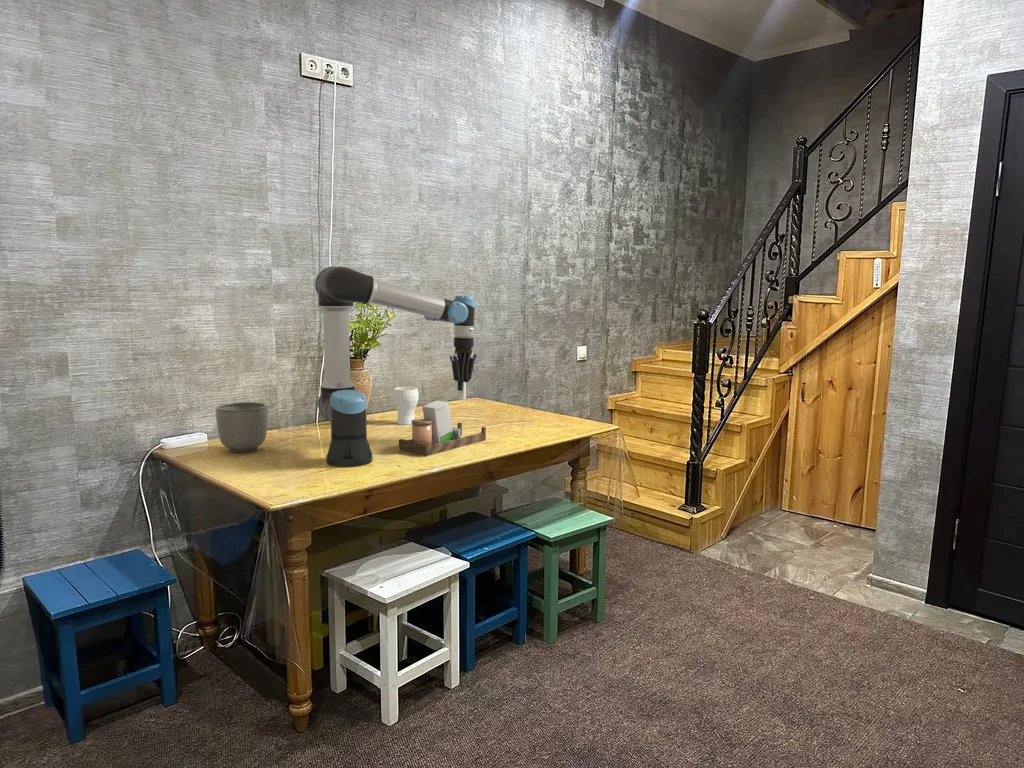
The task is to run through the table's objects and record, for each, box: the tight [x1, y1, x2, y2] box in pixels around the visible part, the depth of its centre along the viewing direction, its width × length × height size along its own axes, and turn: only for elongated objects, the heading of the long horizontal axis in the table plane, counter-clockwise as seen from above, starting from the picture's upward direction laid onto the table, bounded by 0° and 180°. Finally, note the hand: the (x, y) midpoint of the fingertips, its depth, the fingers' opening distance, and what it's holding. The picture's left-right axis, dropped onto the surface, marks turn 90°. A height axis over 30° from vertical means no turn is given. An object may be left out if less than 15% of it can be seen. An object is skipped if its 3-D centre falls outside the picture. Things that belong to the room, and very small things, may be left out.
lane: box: [398, 422, 487, 457], centre depth 263 cm, size 33×13×5 cm, turn 143°
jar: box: [411, 418, 432, 446], centre depth 253 cm, size 7×7×11 cm
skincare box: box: [422, 400, 454, 445], centre depth 260 cm, size 8×7×16 cm
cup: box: [392, 386, 420, 426], centre depth 300 cm, size 11×11×15 cm
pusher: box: [452, 426, 462, 439], centre depth 267 cm, size 5×10×6 cm, turn 53°
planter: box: [215, 401, 269, 454], centre depth 249 cm, size 17×17×16 cm
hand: (462, 398), depth 269 cm, fingers closed
